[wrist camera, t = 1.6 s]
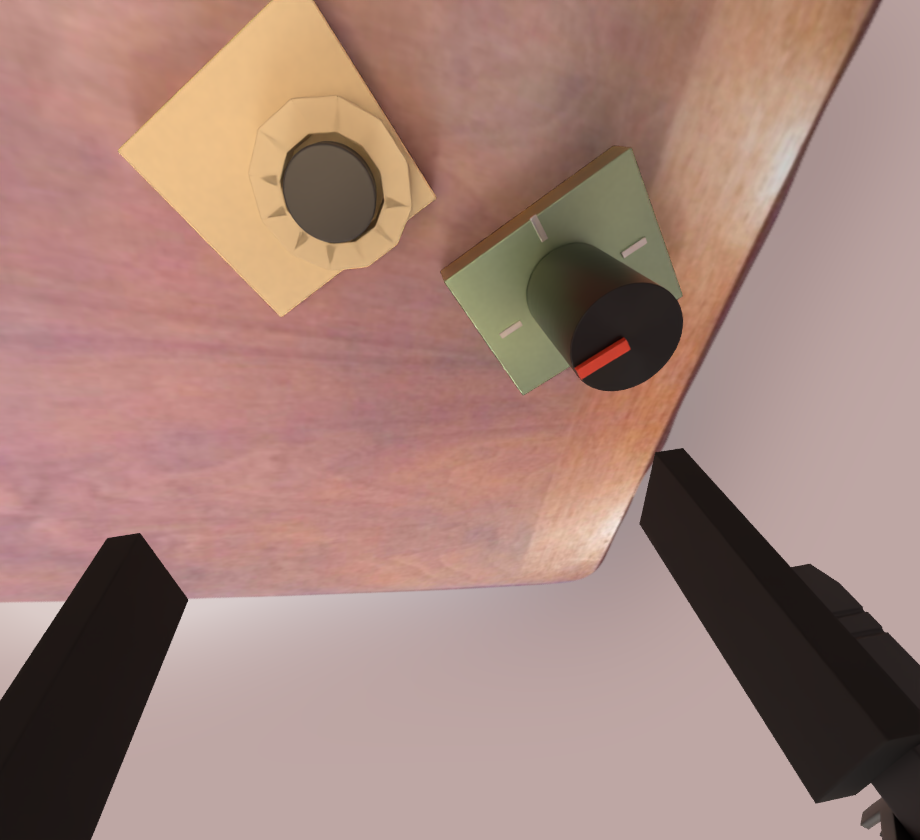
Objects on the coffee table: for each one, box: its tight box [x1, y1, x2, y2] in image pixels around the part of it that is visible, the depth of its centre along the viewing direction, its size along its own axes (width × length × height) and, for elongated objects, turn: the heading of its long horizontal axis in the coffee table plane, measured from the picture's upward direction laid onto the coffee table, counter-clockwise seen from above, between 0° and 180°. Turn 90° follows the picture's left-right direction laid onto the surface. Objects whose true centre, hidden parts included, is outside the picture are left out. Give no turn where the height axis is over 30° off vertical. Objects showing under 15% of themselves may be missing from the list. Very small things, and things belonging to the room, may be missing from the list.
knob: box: [527, 243, 683, 391], centre depth 22 cm, size 5×5×7 cm
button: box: [283, 141, 377, 243], centre depth 18 cm, size 4×4×2 cm
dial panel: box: [441, 146, 683, 395], centre depth 26 cm, size 11×9×2 cm
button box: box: [118, 0, 436, 317], centre depth 20 cm, size 10×9×4 cm
